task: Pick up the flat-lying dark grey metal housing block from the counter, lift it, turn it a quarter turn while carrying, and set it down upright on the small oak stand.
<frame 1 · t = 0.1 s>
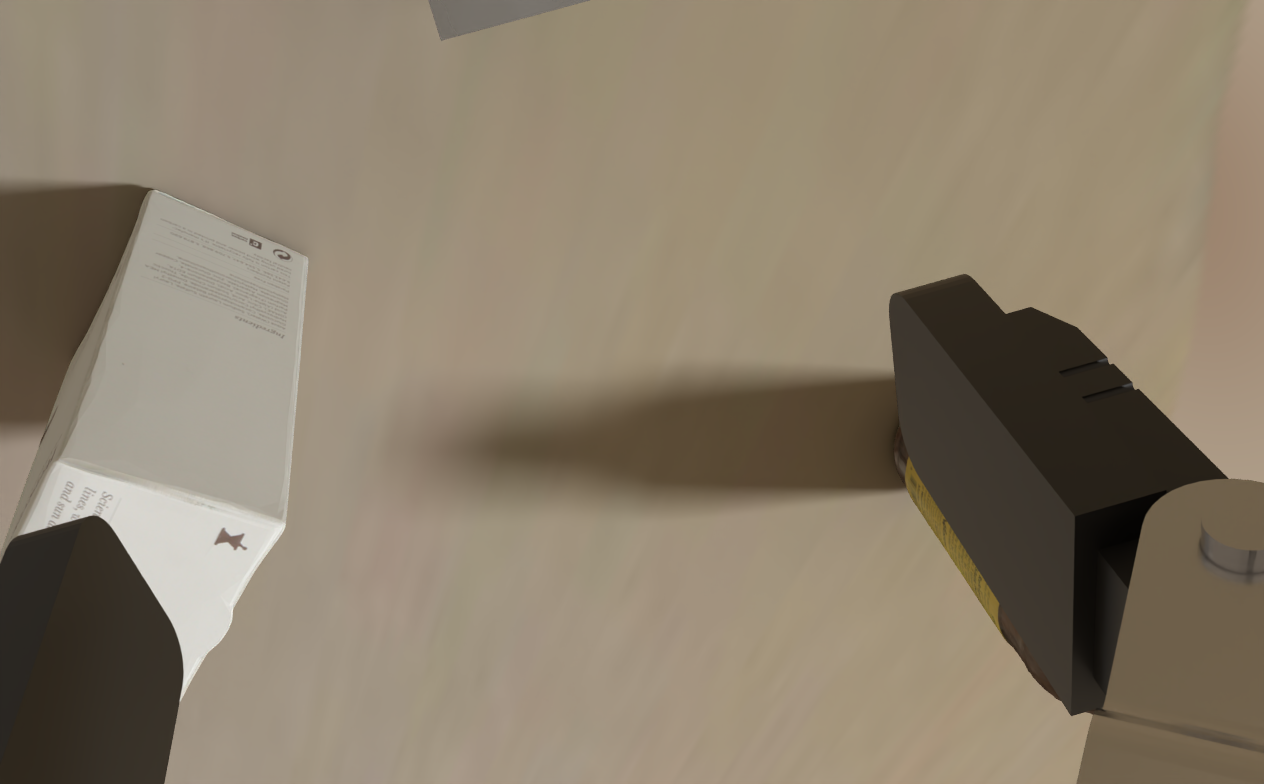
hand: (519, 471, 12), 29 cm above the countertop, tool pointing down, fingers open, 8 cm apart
sauce bottle: (954, 427, 51), on the countertop
skincare box: (192, 313, 42), on the countertop
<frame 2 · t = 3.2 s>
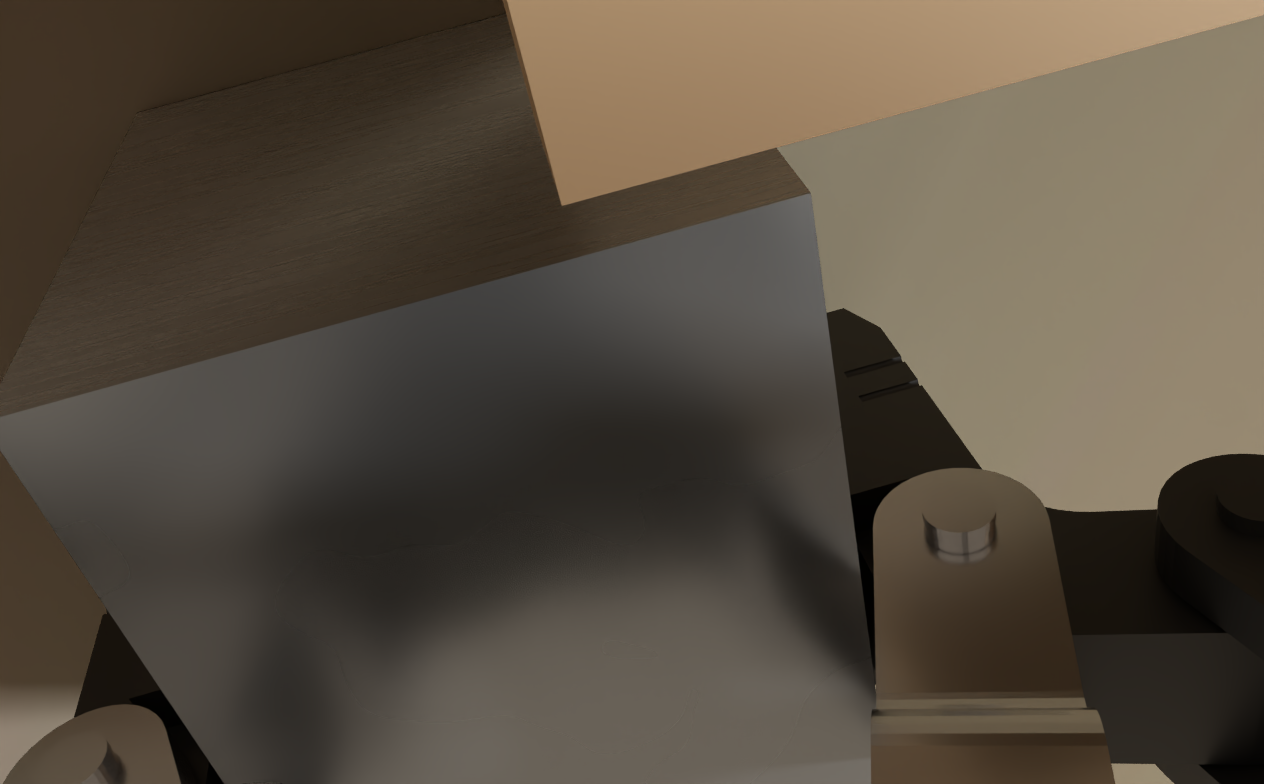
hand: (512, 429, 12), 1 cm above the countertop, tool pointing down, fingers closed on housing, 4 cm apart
housing: (508, 391, 13), on the countertop, touching gripper
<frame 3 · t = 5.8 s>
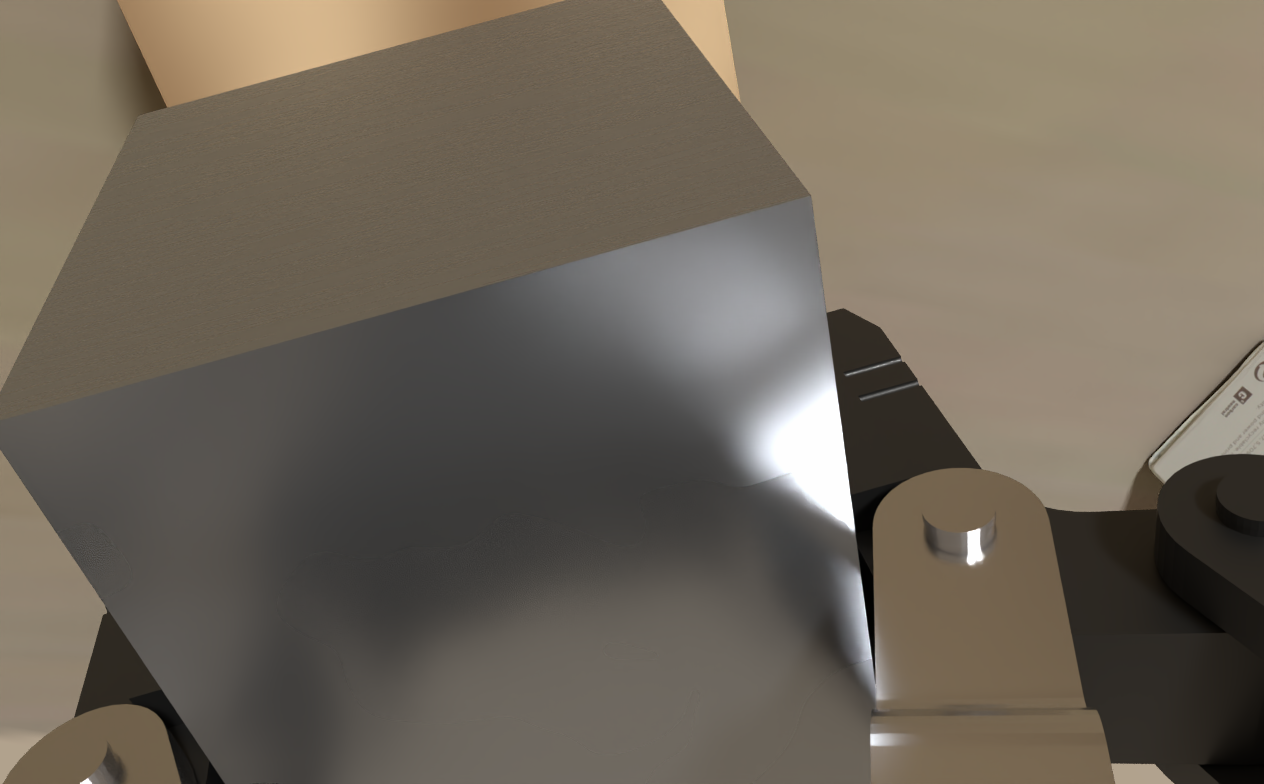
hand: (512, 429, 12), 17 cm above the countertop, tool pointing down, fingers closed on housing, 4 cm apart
housing: (509, 393, 13), point 16 cm above the countertop, touching gripper
when the fingers open (8 cm above the countertop, at t = 8.2 s): housing drops 1 cm, resting on stand.
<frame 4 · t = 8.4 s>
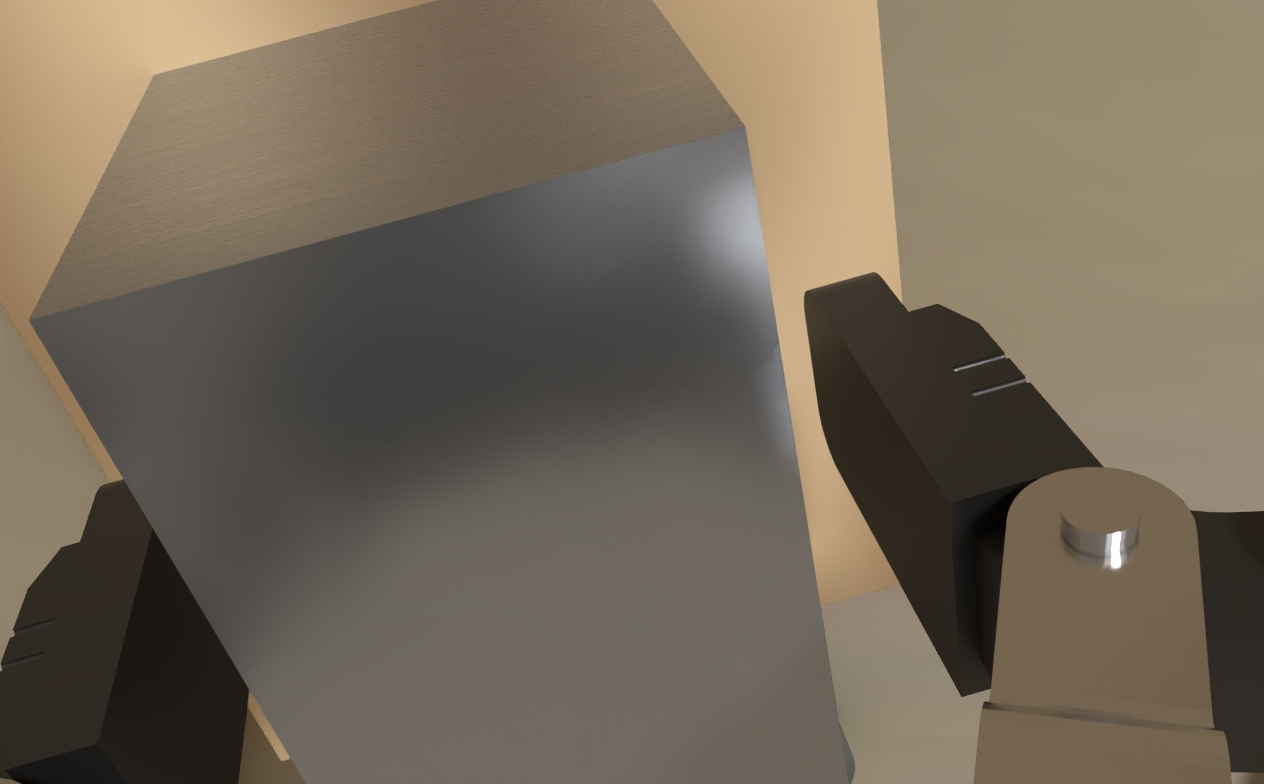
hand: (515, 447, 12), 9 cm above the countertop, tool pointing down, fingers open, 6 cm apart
rubber puck: (758, 736, 29), on the countertop
stand: (465, 143, 19), on the countertop
housing: (494, 340, 14), point 6 cm above the countertop, touching stand
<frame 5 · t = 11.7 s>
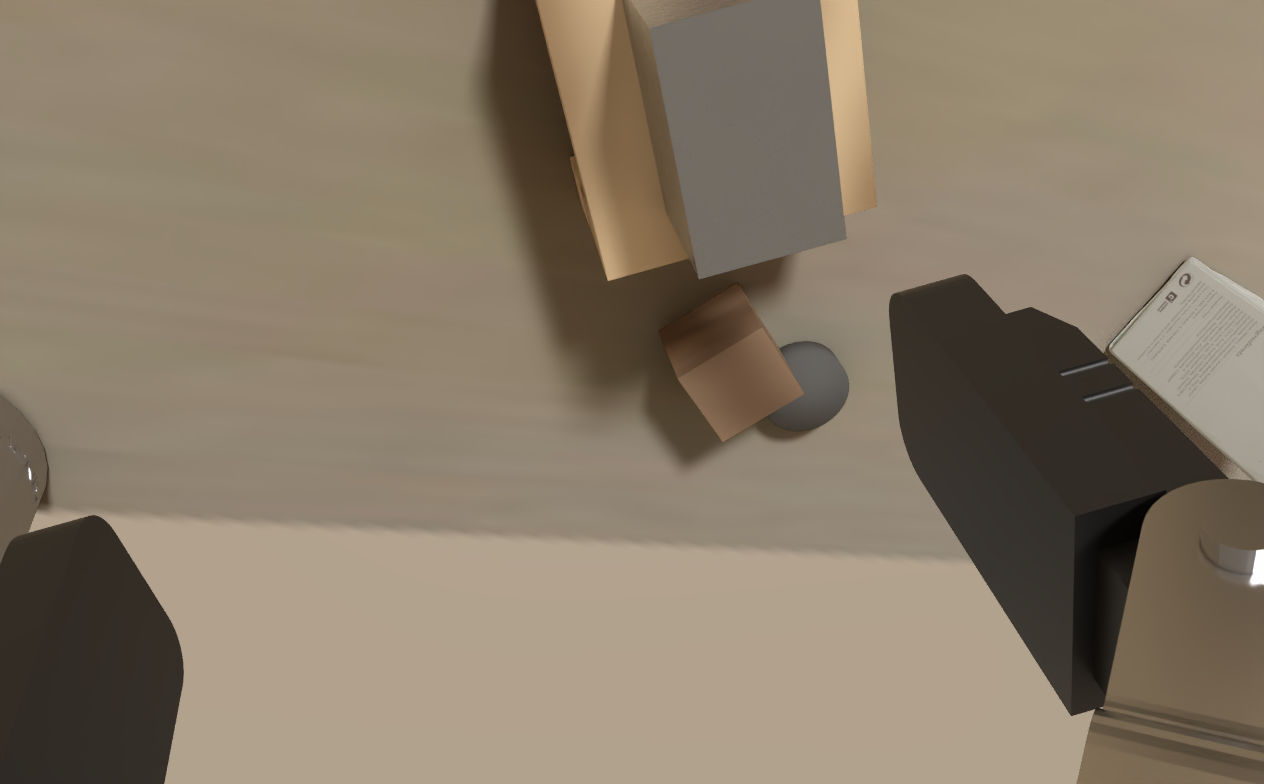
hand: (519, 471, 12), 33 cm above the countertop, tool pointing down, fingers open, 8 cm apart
walnut block: (718, 338, 51), on the countertop
skincare box: (1199, 330, 56), on the countertop
rubber puck: (796, 376, 53), on the countertop
stand: (674, 29, 43), on the countertop
housing: (714, 85, 38), point 6 cm above the countertop, touching stand
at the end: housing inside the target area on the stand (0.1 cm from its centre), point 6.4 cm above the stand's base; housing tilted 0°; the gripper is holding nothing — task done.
